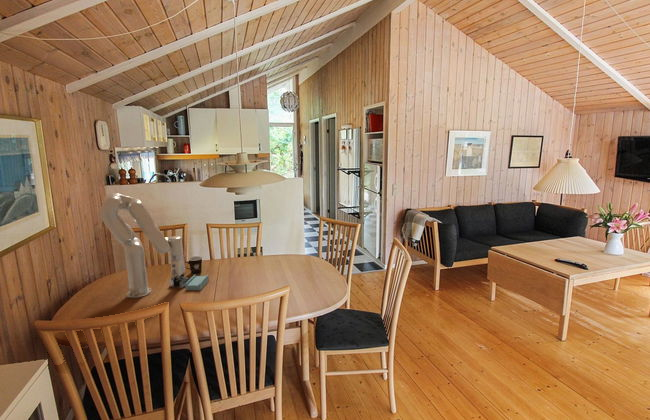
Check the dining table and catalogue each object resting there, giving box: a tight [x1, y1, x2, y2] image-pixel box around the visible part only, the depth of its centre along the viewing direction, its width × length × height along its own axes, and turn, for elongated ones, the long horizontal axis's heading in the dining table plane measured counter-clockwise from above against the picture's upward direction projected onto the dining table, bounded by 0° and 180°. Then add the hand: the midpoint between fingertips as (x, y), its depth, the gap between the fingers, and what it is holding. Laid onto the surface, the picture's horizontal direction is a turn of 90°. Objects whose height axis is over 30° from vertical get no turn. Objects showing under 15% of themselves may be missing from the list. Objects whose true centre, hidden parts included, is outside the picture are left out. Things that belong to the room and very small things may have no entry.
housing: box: [169, 275, 189, 289], centre depth 221 cm, size 6×9×6 cm, turn 71°
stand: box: [185, 274, 210, 291], centre depth 221 cm, size 14×9×4 cm, turn 178°
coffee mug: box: [184, 255, 203, 275], centre depth 240 cm, size 12×9×10 cm
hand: (179, 283), depth 221 cm, fingers closed on housing, 7 cm apart
